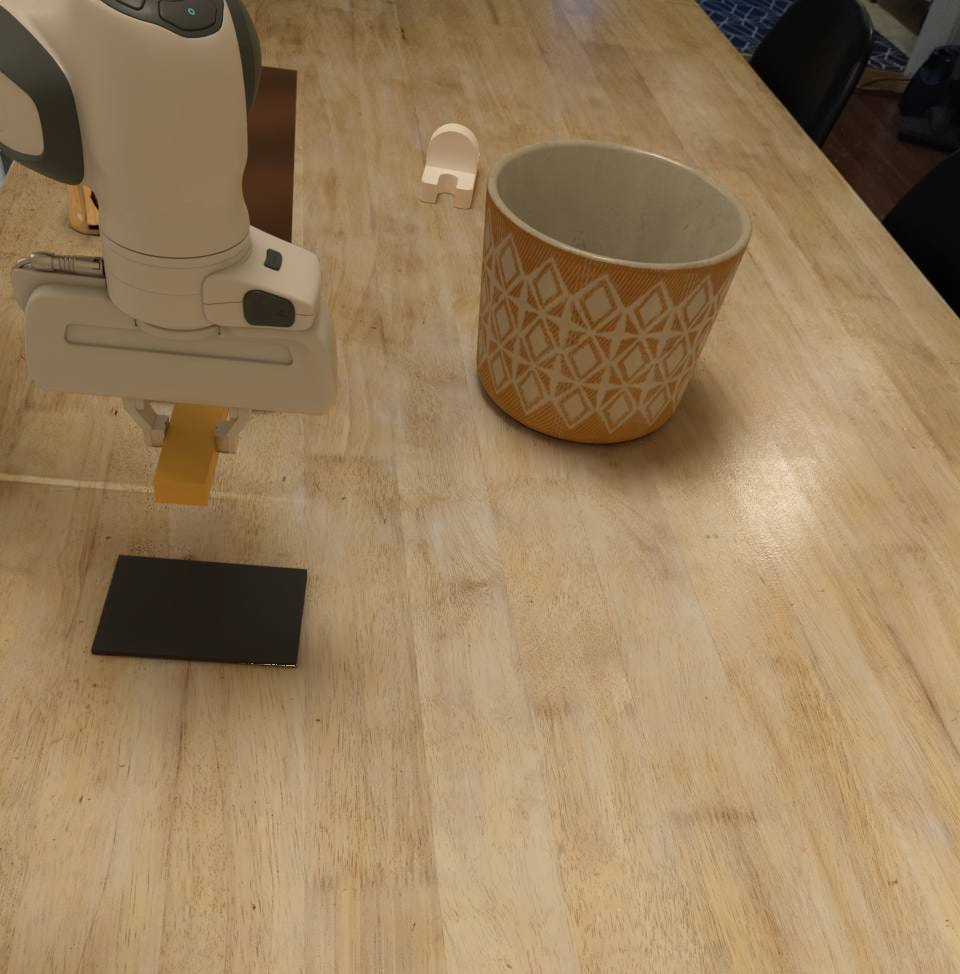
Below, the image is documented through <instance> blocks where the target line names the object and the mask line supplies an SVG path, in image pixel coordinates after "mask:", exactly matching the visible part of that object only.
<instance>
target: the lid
mask: <svg viewBox="0 0 960 974" xmlns="http://www.w3.org/2000/svg"><path fill="white" fill-rule="evenodd" d="M297 94H298V69H292V68H284V67H276V66H268V65H262V67H261V77H260V84H259V88H258V92H257V96H256V99H255V102H254V104H253V107H252V110H251V112H250V114H249V116H248V118H247V145H248V156H247V162H246V166H245V169H244V173H243V177H242V193H243V198H244V201H245V204H246V207H247V210H248V214H249V220H250V225H251V226H253V227H255V228H257V229H259V230H261V231H263V232H265V233H268V234H270V235H272V236H274V237H277V238H279V239H282V240H284V241H286V242H289V243H291V244H293V242H292V241H293V216H294V215H293V212H294V183H295V156H296V155H295V154H296V129H297V128H296V126H297V100H298V99H297V97H298V96H297Z"/></svg>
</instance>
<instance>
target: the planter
mask: <svg viewBox="0 0 960 974" xmlns="http://www.w3.org/2000/svg"><path fill="white" fill-rule="evenodd" d="M485 191H486V192H485V193H486V194H485V206H484V207H485V209H484V222H483V223H484V224H483V225H484V226H483V241H482V242H483V243H482V244H483V245H482V258H481V259H482V260H481V275H480V291H479V293H480V294H479V308H478V309H479V310H478V326H477V343H476V368H477V374H478V378H479V380H480V383H481V384H482V386H483V388H484V390H485V391H486V393H487V395H488V396H489V397H490V399H491V400H492V401H493V402H494V404H496V405H497V406H498V407H499V408H500V409H501V410H502V411H503V412H505V414H507V415H508V416H510V417H511V418H512V419H514V420H516V421H517V422H518V423H521V425H524V426H525V427H527V428H529V429H532V430H534V431H536V432H538V433H541V434H544V435H547V436H550V437H553V438H556V439H560V440H563V441H569V442H575V443H583V444H596V445H597V444H598V445H599V444H602V445H603V444H615V443H623V442H628V441H632V440H635V439H638V438H641V437H644V436H646V435H648V434H650V433H652V432H654V431H656V430H657V429H659V428H660V427H662V426H663V425H664V424H665V423H667V421H669V419H670V418H672V417H673V415H674V414H675V412H676V410H677V409H678V407H679V405H680V403H681V401H682V399H683V396H684V394H685V391H686V389H687V387H688V384H689V382H690V380H691V377H692V375H693V373H694V371H695V368H696V366H697V363H698V361H699V359H700V357H701V354H702V353H703V349H704V347H705V345H706V344H707V343H706V342H707V340H708V338H709V336H710V334H711V332H712V329H713V326H714V324H715V323H716V320H717V317H718V315H719V312H720V310H721V308H722V305H723V303H724V301H725V299H726V296H727V294H728V292H729V290H730V287H731V285H732V282H733V281H734V278H735V275H736V273H737V271H738V269H739V266H740V264H741V262H742V259H743V257H744V255H745V252H746V250H747V249H748V245H749V243H750V241H751V238H752V236H753V229H754V228H753V221H752V217H751V215H750V212H749V211H748V208H747V207H746V205H745V204H744V202H743V201H742V200H741V199H740V198H739V196H737V195H736V193H734V191H732V190H731V189H730V188H728V186H726V185H725V184H723V183H722V182H721V181H720V180H719V179H716V177H713V176H712V175H710V174H709V173H706V171H703V170H701V169H699V168H698V167H695V166H694V165H691V164H690V163H687V162H685V161H682V160H680V159H677V158H675V157H672V156H669V155H666V154H664V153H661V152H657V151H653V150H650V149H647V148H643V147H640V146H635V145H630V144H626V143H625V144H624V143H620V142H619V143H618V142H613V141H606V140H598V139H597V140H596V139H585V138H584V139H582V138H581V139H580V138H579V139H578V138H577V139H576V138H570V139H569V138H565V139H551V140H544V141H538V142H533V143H529V144H526V145H522V146H518V147H516V148H514V149H512V150H510V151H508V152H506V153H504V154H503V155H502V156H500V157H499V158H498V159H497V160H496V161H495V162H494V163H493V164H492V165H491V167H490V168H489V171H488V174H487V178H486V190H485Z"/></svg>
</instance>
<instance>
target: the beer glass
mask: <svg viewBox="0 0 960 974" xmlns="http://www.w3.org/2000/svg"><path fill="white" fill-rule="evenodd" d="M65 186H66V191H67V199H68V215H67V217H68V224H69V226H70V228H72V229H73V230H74V231H76V232H77V233H78V232H79V233H81V234H84V235H89V236H90V235H92V236H97V235H98V236H100V230H99V223H98V215H99V204H98V199H97V197H96V195H95V194H94V192H93V191H92V190H91V189H90V188H89V187H87V186H85V185H82V184H79V185H68V184H65Z"/></svg>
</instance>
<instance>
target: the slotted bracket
mask: <svg viewBox="0 0 960 974" xmlns="http://www.w3.org/2000/svg"><path fill="white" fill-rule="evenodd" d="M426 151H427V152H426V158H425V166H424V169H423V173H422V177H421V181H420V182H421V183H420V193H419V200H420V201H422V202H424V203H429V204H433V205H434V204H436V201H437V197H438V195H439V194H443V193H445V194H450V195H452V196H454V202H453V203H454V204H453V208H457V209H464V210H468V209H470V208H471V205H472V200H473V195H474V190H475V186H476V181H477V175H478V171H479V170H478V169H479V164H480V163H479V162H480V157H481V155H480V154H481V153H480V146H479V141H478V139H477V138H476V136H475V134H474V133H473V132H472V131H471V130H470V129H469V128H468V127H466V126H465V125H463V124H459V123H446V124H443V125H441V126H440V127H438V128H437V129H436V130H434V132H433V134H432V135H431V137H430V140H429V143H428V146H427V150H426Z"/></svg>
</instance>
